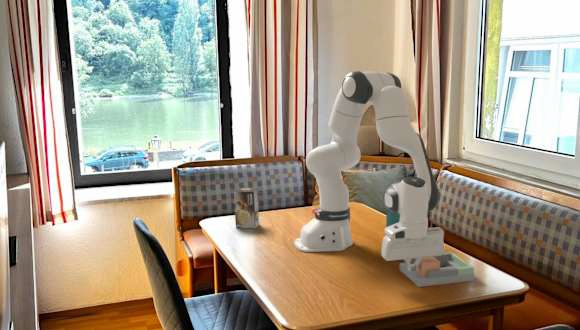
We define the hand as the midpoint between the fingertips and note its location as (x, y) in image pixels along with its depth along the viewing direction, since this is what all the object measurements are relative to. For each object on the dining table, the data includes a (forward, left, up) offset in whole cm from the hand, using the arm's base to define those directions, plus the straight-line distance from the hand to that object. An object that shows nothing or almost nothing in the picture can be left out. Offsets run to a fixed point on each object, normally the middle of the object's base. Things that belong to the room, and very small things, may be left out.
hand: (412, 270), depth 189 cm
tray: (+10, +3, -4) cm, 11 cm away
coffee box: (-42, +75, -4) cm, 86 cm away
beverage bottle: (+3, +22, -4) cm, 23 cm away
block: (+5, 0, -1) cm, 5 cm away
